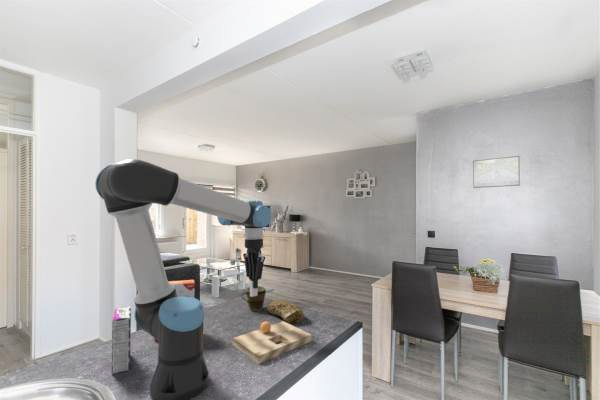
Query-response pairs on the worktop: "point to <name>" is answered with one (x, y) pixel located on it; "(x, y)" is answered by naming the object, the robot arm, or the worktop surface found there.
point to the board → (271, 341)
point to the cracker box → (184, 289)
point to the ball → (265, 327)
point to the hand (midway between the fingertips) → (253, 295)
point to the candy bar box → (121, 340)
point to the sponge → (285, 310)
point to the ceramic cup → (255, 299)
